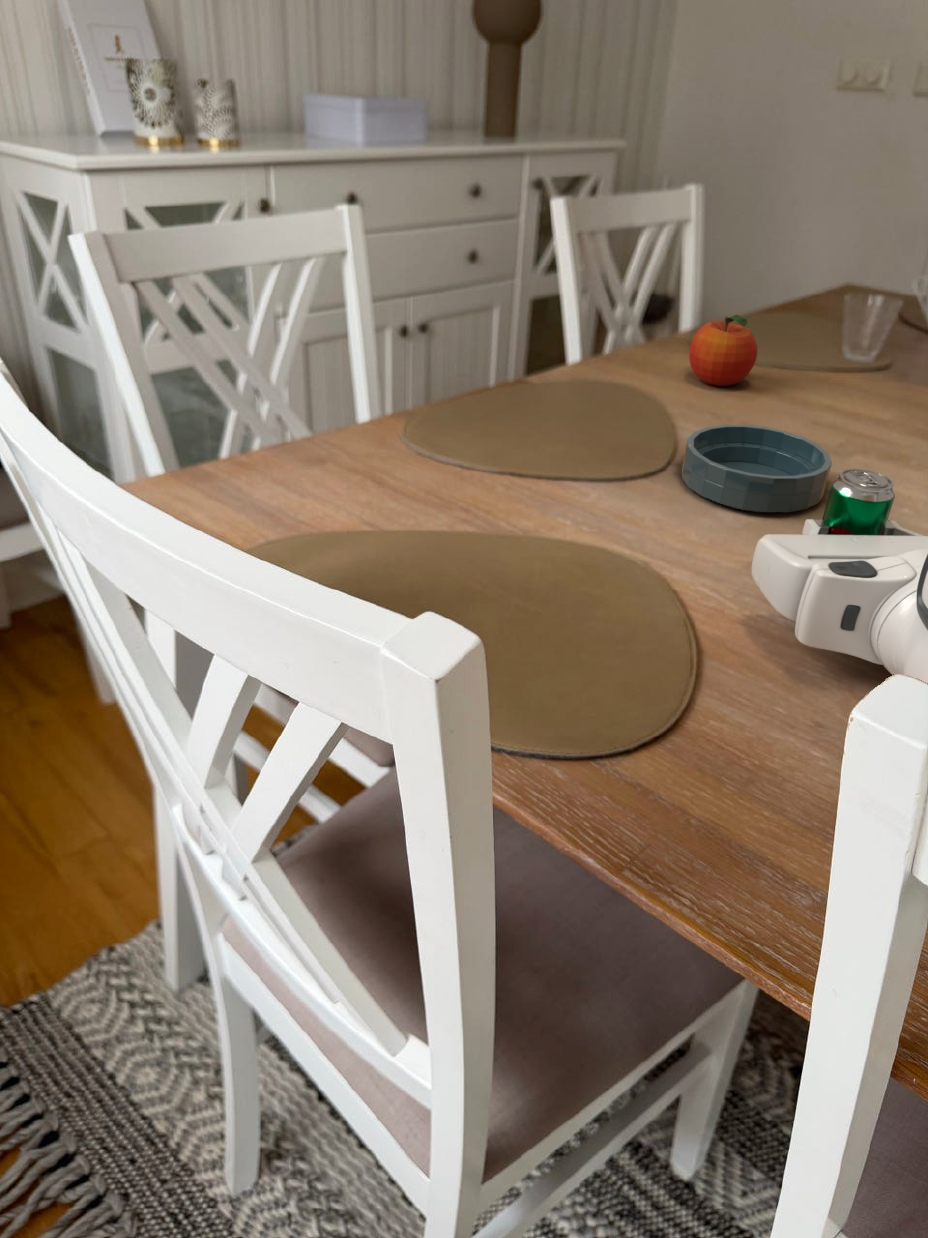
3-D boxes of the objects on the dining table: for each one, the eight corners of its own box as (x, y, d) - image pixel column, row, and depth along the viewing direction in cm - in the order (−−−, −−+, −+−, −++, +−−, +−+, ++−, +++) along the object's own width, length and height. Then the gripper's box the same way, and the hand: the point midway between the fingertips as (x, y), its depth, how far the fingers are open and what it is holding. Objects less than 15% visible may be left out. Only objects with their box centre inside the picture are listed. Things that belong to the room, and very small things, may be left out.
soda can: (842, 585, 88) (877, 465, 82) (870, 614, 84) (910, 489, 77) (791, 588, 87) (824, 467, 81) (818, 617, 83) (854, 491, 77)
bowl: (813, 469, 112) (823, 433, 109) (828, 525, 99) (839, 486, 96) (681, 454, 114) (688, 418, 112) (679, 507, 101) (686, 467, 99)
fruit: (723, 368, 144) (736, 301, 139) (764, 388, 137) (779, 318, 131) (671, 374, 140) (682, 305, 135) (709, 395, 133) (723, 323, 128)
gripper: (1067, 575, 70) (972, 495, 82) (798, 572, 69) (741, 492, 80) (1036, 645, 73) (949, 559, 85) (779, 644, 72) (726, 557, 84)
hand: (846, 527), depth 83 cm, fingers closed on soda can, 5 cm apart
